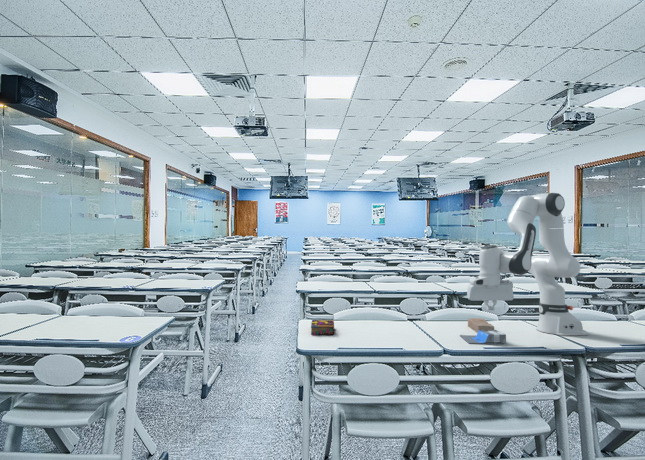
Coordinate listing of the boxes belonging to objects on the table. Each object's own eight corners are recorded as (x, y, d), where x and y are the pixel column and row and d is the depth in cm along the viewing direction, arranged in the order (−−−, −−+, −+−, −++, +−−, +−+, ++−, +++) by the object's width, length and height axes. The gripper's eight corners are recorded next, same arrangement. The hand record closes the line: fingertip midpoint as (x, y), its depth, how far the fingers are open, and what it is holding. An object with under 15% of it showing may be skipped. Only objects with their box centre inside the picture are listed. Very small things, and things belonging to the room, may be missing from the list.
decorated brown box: (333, 328, 194) (333, 318, 194) (334, 336, 178) (334, 325, 178) (311, 327, 194) (311, 318, 194) (310, 336, 178) (310, 325, 178)
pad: (491, 336, 178) (491, 335, 178) (503, 344, 165) (503, 343, 165) (459, 336, 179) (459, 335, 179) (468, 343, 166) (468, 342, 166)
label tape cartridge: (506, 334, 166) (480, 334, 165) (506, 342, 166) (480, 343, 165) (495, 329, 175) (470, 329, 174) (495, 337, 175) (470, 338, 174)
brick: (495, 334, 183) (495, 325, 184) (478, 334, 184) (477, 324, 184) (482, 327, 200) (482, 318, 200) (467, 326, 201) (467, 317, 201)
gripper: (509, 279, 175) (510, 308, 175) (465, 279, 176) (466, 308, 176) (515, 280, 168) (516, 311, 168) (470, 281, 169) (470, 311, 169)
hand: (490, 310), depth 172 cm, fingers closed
